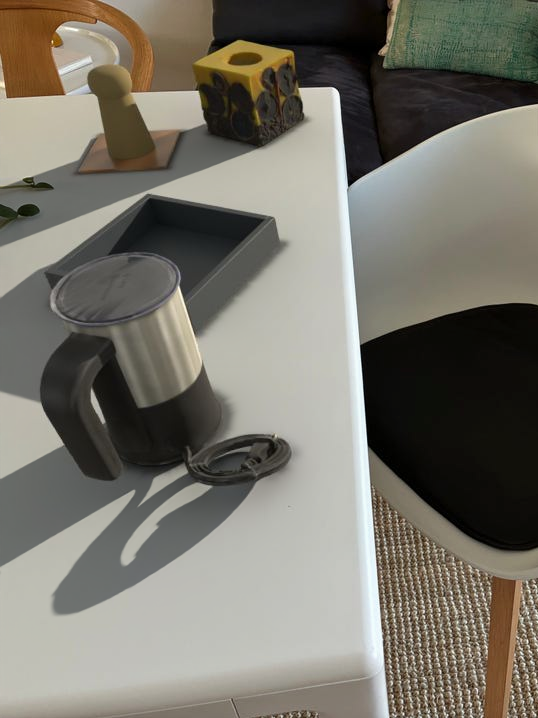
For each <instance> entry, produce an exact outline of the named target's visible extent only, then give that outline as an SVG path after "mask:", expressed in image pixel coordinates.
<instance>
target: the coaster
mask: <svg viewBox="0 0 538 718" xmlns="http://www.w3.org/2000/svg"><path fill="white" fill-rule="evenodd" d="M148 131H149V133H150V135H151V137H152V139H153V142H154V144H155V148H154V149H153V150H152V151H151V152H150V153H148V154H146V155H144V156H141V157H138V158H133V159H116V158H113V157H111V156H110V155H109V154H108V149H107V144H106V139H105V134H104V133H99V134H98V135H97V136H98V137H97V138H96V139H95V141H94V143H93V145H92V146H91V148H90V150H89V151H88V153H87V155H86V157H85V159H84V160H83V162H82V164H81V165H80V167H79V168H78V170H77V172H78V174H94V173H95V174H97V173H113V172H115V173H116V172H131V171H132V172H133V171H150V170H166V169H167V167H168V164H169V162H170V160H171V157H172V155H173V152H174V150H175V147H176V145H177V142H178V140H179V137H180V135H181V129H169V130H151V131H150V130H148Z"/></svg>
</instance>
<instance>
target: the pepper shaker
mask: <svg viewBox="0 0 538 718" xmlns="http://www.w3.org/2000/svg"><path fill="white" fill-rule="evenodd" d="M131 76H132V75H131V74H130V72H129V70H127V68H126V67H124V66H122V65H119V64H114V63H112V64H110V63H108V64H102V65H98V66H95V67H94V68H92V69H90V70H89V71H88V73H87V77H86V81H87V86H88V89H89V90H90V91H91V93H92V94H93V95H95V96H96V97H97V98H96V99H97V103H98V109H99V113H100V118H101V124H102V128H103V134H105V139H106V144H107V149H108V154H109V155H110V156H111V157H113V158H116V159H133V158H138V157H141V156H144V155H146V154H148V153H150V152H151V151H152V150H153V149H154V148H155V144H154V142H153V139H152V137H151V135H150V133H149V131H150V130H149V129H148V127H147V124H146V121H145V120H144V117H143V116H142V114H141V111H140V109H139V107H138V105H137V102H136V100H135V98H134V96H133V94H132V88H133V80H132V77H131Z"/></svg>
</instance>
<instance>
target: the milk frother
mask: <svg viewBox="0 0 538 718" xmlns="http://www.w3.org/2000/svg"><path fill="white" fill-rule="evenodd" d="M180 279H181V277H180V272H179V270H178V268H177V266H176V265H175V264H174V263H173V262H171V261H170V260H168V259H166V258H164V257H161V256H158V255H156V254H152V253H137V252H134V253H123V254H116V255H110V256H106V257H103V258H99V259H95V260H93V261H91V262H88V263H86V264H84V265H82V266H79V267H77V268H76V269H74V270H73V271H71V272H70V273H69V274H67V275H65V276H64V277H63V278H62V279H61V280H60V281H59V282H58V283H57V284H56V285H55V287H54V288H53V290H52V289H51V290H50V294H49V299H48V301H49V307H50V310H51V311H52V313H53V314H54V315H55V316H56V317H58V318H59V319H60V320H61V321H62V324H63V326H64V328H65V330H66V334H67V335H68V336H67V337H66V338H65V339H64V340H63V342H61V343H60V344H59V345H58V347H57V348H55V350H54V351H53V352H52V354H51V355H50V357H49V358H48V359H47V361H46V363H45V365H44V367H43V371H42V374H41V376H40V377H41V378H40V383H39V398H40V402H41V407H42V410H43V412H44V414H45V415H46V418H47V419H48V421H49V422H50V425H52V427H53V429H54V430H55V432H56V433H57V435H58V437H59V438H60V440H61V442H62V444H63V446H64V447H65V448H66V450H67V451H68V453H69V454H70V456H71V457H72V459H73V460H74V462H75V463H76V465H77V467H78V469H79V470H80V471H81V473H82V474H83V475H84V476H85V477H87V478H90V479H93V480H97V481H104V482H112V481H115V480H118V479H119V477H120V476H121V475H122V473H123V471H124V466H123V462H122V460H121V458H122V459H124V460H125V461H126V462H130V463H134V464H137V465H141V466H163V465H169V464H173V463H174V462H179V461H182V460H183V461H184V466H185V468H186V471H187V473H188V475H189V476H190V479H192V480H193V481H194V482H195V483H199V484H201V485H205V486H209V487H230V486H239V485H244V484H248V483H252V482H255V481H259V480H261V479H264V478H266V477H269V476H271V475H273V474H275V473H277V472H279V471H280V470H281V469H283V468H284V467H286V466H287V464H288V463H289V461H290V460H291V458H292V448H291V445H290V443H289V442H288V441H286V440H285V439H284V438H282V437H279V436H277V435H278V434H277V433H275V432H272V433H271V434H264V433H249V434H242V435H238V436H234V437H230V438H227V439H223V440H222V441H220V442H217V443H215V444H213V445H211V446H208V447H207V448H206V449H204V447H205V446H207V445H209V443H210V442H211V441H212V440H213V439H214V438H215V437H216V435H217V434H218V433H219V431H220V428H221V426H222V423H223V420H224V412H223V407H222V404H221V403H220V401H219V400H218V399H217V398H216V396H215V393H214V389H213V388H212V385H211V382H210V379H209V377H208V374H207V371H206V367H205V365H204V361H203V358H202V354H201V352H200V349H199V345H198V341H197V339H196V334H194V332H193V329H192V325H191V322H190V319H189V316H188V312H187V309H186V306H185V303H184V300H183V296H182V293H181V290H180V287H179V284H180ZM92 393H93V395H94V397H95V399H96V401H97V403H98V406H99V409H100V411H101V414H102V416H103V419H104V422H105V424H106V427H107V431H108V433H109V435H108V433H107V431H106V427H105V426H104V424H103V422H102V420H101V418H100V416H99V415H98V412H97V411H96V409H95V407H94V404H93V403H92ZM248 447H250V449H249V452H248V453H247V454H246V455H245V458H244V460H245V461H244V462H242V463H241V464H240V468H238V469H230V470H215V469H213V468H210V467H209V465H210V464H211V462H213V461H214V460H215V459H217V458H219V457H220V456H223V455H225V454H227V453H229V452H232V451H235V450H238V449H239V450H240V449H243V448H248ZM202 449H204V450H202ZM201 450H202V451H201ZM199 451H201V452H200V453H199V454H197V455H196V456H195V457H194V459H193V458H192V457H193V455H194V454H196V453H198V452H199Z"/></svg>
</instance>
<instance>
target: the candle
mask: <svg viewBox="0 0 538 718" xmlns="http://www.w3.org/2000/svg"><path fill="white" fill-rule="evenodd" d="M191 68H192V71H193V75H194V78H195V82H196V85H197V91H198V95H199V98H200V105H201V106H200V107H201V110H202V116H203V120H204V121H205V123H206V126H207V131H208V132H209V133H210V134H213V135H217V136H220V137H225V138H228V139H231V140H235V141H240V142H244V143H250V144H253V145H256V146H259V147H262V146H265V145H266V144H268V143H270V142H272V141H273V140H275V139H276V138H278V137H279V136H281V135H282V134H284V133H285V132H287V131H288V130H291V128H293V127H294V126H296V125H299V123H301V122H302V121H304V120H305V112H304V102H303V100H302V96H301V93H300V92H301V91H300V88H299V82H298V75H297V73H296V72H297V71H296V66H295V53H294V51H292V50H290V49H283V48H278V47H274V46H269V45H265V44H264V45H263V44H260V43H255V42H251V41H245V40H242V39H237V40H236V41H234V42H232V43H230V44H228V45H226V46H224V47H222V48H221V49H219V50H216V51H215V52H212V53H211V54H208V55H206V56H205V57H202V58H201V59H199V60H197V61H194V62H193V63H192V64H191Z"/></svg>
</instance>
